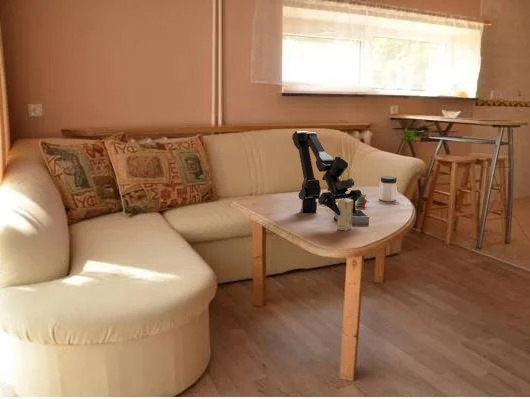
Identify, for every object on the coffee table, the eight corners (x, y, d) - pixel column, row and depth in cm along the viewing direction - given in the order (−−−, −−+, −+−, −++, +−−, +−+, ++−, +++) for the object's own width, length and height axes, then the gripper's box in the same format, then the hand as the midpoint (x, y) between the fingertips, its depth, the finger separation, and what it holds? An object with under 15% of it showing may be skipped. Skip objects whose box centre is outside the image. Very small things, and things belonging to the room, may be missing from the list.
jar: (398, 200, 241) (400, 178, 239) (384, 201, 240) (385, 179, 237) (390, 197, 250) (391, 175, 247) (376, 197, 248) (377, 176, 245)
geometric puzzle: (373, 203, 226) (367, 189, 228) (363, 205, 222) (357, 190, 224) (364, 209, 231) (358, 195, 234) (354, 211, 228) (348, 197, 230)
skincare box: (346, 231, 187) (348, 202, 184) (336, 229, 190) (338, 200, 187) (352, 227, 193) (353, 199, 190) (342, 225, 195) (344, 198, 192)
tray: (341, 224, 196) (341, 217, 196) (334, 217, 208) (334, 209, 207) (368, 224, 197) (369, 216, 197) (360, 216, 209) (360, 209, 208)
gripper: (322, 173, 186) (336, 205, 178) (360, 170, 193) (375, 201, 186) (312, 188, 194) (324, 220, 187) (349, 185, 202) (362, 215, 194)
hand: (347, 214), depth 188 cm, fingers closed on skincare box, 7 cm apart
